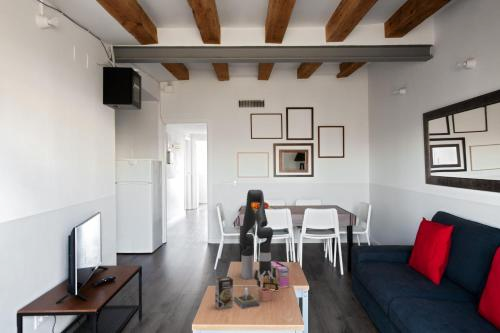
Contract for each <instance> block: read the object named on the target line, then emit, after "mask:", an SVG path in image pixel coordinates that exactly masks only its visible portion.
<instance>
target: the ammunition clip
mask: <svg viewBox="0 0 500 333" xmlns="http://www.w3.org/2000/svg"><path fill="white" fill-rule="evenodd" d="M271 274H272V273H271ZM262 279H263V280H262V288H269V289H275V290H278V289H279V287H278V274H277V273H276V278H273V285H271V284H270V277H268V276H263V277H262Z"/></svg>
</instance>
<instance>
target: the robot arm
mask: <svg viewBox="0 0 500 333" xmlns="http://www.w3.org/2000/svg"><path fill="white" fill-rule="evenodd" d="M263 192H264V191H263V190H262V189H249V190H248V191H247V194H246V204H245V210H244V215H243V222H242V227H241V232H240V236H239V240H238V241H239V245H240V246H241V247H247V248H245V249H243V250H242V251H241V279H244V280H250V279H251V280H252V279H253V278H254V280H255V281H256V282H257V283H256V285H257V287H258V288H260V287H261V279H263V276H265V277H266V276H268V275H269V277H270V284H271V285H273V278H275V277H276V269H275V268H274V267H272V268H271V261H272V254H271V246H272V245H271V244H272V239H273V237H274V236H273V235H274V230H273V228H272V227H270V226H267V225H268V223H269V222H268V218H267V215H266V208H265V207H266V206H265V198H264V193H263ZM253 203H254V204H255V203H257V204H259V206H258V207H257V210H256V212H255V210H254V209H253V206H252V204H253ZM255 225H256V237H257V238H258V239H260V240H261V239H262V240H263V239H266V240H264V241H261V242H259V244H258V248H259V253H258V261H259V262H258V266H259V267H258V268H259V269H254V251H255V250H254V246H255V245H254V244H255V237H254V234H253V233H249V232H250V231H251V230H252V229H253V227H254V226H255ZM271 270H272V274H271V273H270V272H271ZM261 288H262V287H261Z"/></svg>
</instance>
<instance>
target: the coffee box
mask: <svg viewBox="0 0 500 333" xmlns="http://www.w3.org/2000/svg"><path fill="white" fill-rule="evenodd" d="M214 281H215V288H214V289H215V291H214V292H215V293H214V295H215V296H214V307H215V308H217V309H218V310H223V309H228V308H233V306H234V279H233V278H232V277H230V276H222V277H217V278H215V280H214Z"/></svg>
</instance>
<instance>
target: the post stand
mask: <svg viewBox="0 0 500 333" xmlns="http://www.w3.org/2000/svg"><path fill="white" fill-rule="evenodd" d="M243 292H244V294H243V295H238V296H233V302H235V304H237V305H238V306H239V307H240V308H241V309H242V310H244V309H250V308H253V307H258V306H260V301H259V300H257V298H255V297H254V296H253V295H252V294H251V293H250V294H249V287H248V286H245V287H244V290H243Z"/></svg>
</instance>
